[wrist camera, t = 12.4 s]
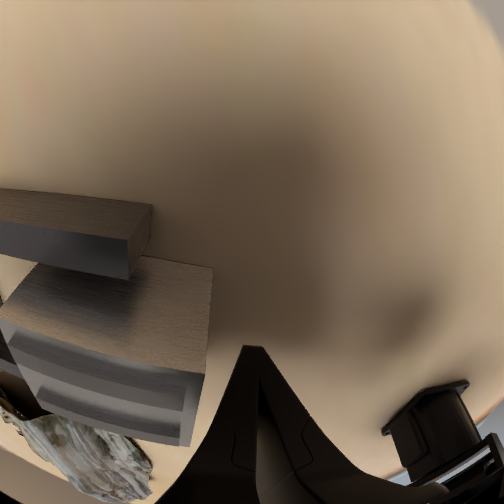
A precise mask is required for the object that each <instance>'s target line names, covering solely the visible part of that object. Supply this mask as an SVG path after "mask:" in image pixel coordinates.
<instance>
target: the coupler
mask: <svg viewBox="0 0 504 504" xmlns="http://www.w3.org/2000/svg"><path fill="white" fill-rule="evenodd" d="M151 212H152V205H151V204H143V203H135V202H127V201H119V200H110V199H102V198H93V197H84V196H74V195H65V194H55V193H44V192H33V191H21V190H9V189H0V254H4V255H8V256H12V257H16V258H21V259H25V260H29V261H34V262H38V263H43V264H47V265H52V266H57V267H62V268H66V269H71V270H76V271H81V272H86V273H92V274H97V275H102V276H108V277H113V278H119V279H124V280H129V278H130V276H131V274H132V272H133V270H134V268H135V266H136V264H137V262H138V260H139V258H140V256H141V254H142V252H143V250H144V249H145V247H146V245H147V243H148V241H149V239H150V231H151ZM2 305H3V303H2V300H1V298H0V308H1V307H2ZM0 369H2V370H4V371H6V372H8V373H10V374H12V375H15V376H17V377H19V378H21V379H24V377H23V375H22V373H21V372H20V370H19V368H18V366H17V364H16V362H15V360H14V358H13V356H12V354H11V352H10V350H9V348H8V346H7V343H6V341H5V339H4V336H3V334H2V332H1V329H0ZM24 380H25V379H24Z"/></svg>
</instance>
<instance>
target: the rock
mask: <svg viewBox="0 0 504 504" xmlns="http://www.w3.org/2000/svg"><path fill="white" fill-rule="evenodd" d="M0 414H1V416H2V418H3V420H4V422H5V423H11V422H13V425H15V426H17V427H18V428H19V430H21V431H17V430H16V431H17V432H18V433H19V435H22V436H24V437H25V439H26V440H27V442H28V445H29V446H30V447H31V449H32V450H33V451H34V453H36V454H37V455H38V456H40V457H41V458H42V459H44V460H45V461H46V462H51V463H52V464H53V465H54V466H56V467H57V468H59V470H60V471H61V472H62V473H63V474H64V475H65V476H66V477H67V478H68V480H69V481H70V482H71V483H72V484H73V485H74V486H75V487H76V489H77V490H78V491H80V492H82V493H85V494H88V495H90V496H93V497H95V498H97V499H99V500H101V501H103V502H109V503H128V502H132V501H133V500H135V499H140V500H144V499H146V498H147V497H148V496H149V495H150V494H152V493H153V492H152V490H151V489H150V487H149V485H148V481H149V473H151V472H152V470H150V469H153V468H152V467H151V465H150V464H149V462H148V461H147V459H146V458H145V457H144V455H143V454H142V453H141V452H140V451H139V450H138V449H137V448H136V447H135V446H134V445H133V444H132V443H131V442H130V441H128V440H127V439H126V438H125V437H124V436H123V435H119V434H115V433H112V432H108V431H105V430H101V429H98V428H94V427H91V426H88V425H85V424H82V423H79V422H76V421H73V420H70V419H67V418H65V417H62V416H59V415H57V414H50V415H45V416H41V417H38V418H35V419H32V420H29V419H28V418H27V417H24V416H21V412H20V413H17V411H16V410H15V408H14V407H13V406H12V404H11V403H10V401H9V400H8V399H7V396H6V394H5V392H3V391H2V389H1V388H0ZM149 468H150V469H149Z"/></svg>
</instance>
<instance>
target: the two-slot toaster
mask: <svg viewBox="0 0 504 504" xmlns="http://www.w3.org/2000/svg"><path fill="white" fill-rule="evenodd" d="M212 279H213V269H211V268H206V267H200V266H195V265H189V264H184V263H178V262H173V261H168V260H162V259H157V258H152V257H147V256H142V255H141V256H140V258H139V260H138V262H137V264H136V266H135V268H134V270H133V272H132V274H131V276H130V278H129V280H124V279H119V278H113V277H108V276H102V275H97V274H92V273H86V272H81V271H76V270H71V269H66V268H62V267H57V266H52V265H47V264H43V263H38V264H37V265H36V266H35V267H34V268H33V269H32V270H31V272H30V273H29V274H28V275H27V276H26V277H25V278H24V280H23V281H22V282H21V283H20V284H19V286H18V287H17V288H16V289H15V290H14V292H13V293H12V294H11V295H10V297H9V298H8V299H7V300H6V302H5V303H4V304H3V305H2V307H1V308H0V329H1V332H2V334H3V336H4V339H5V341H6V343H7V346H8V348H9V350H10V352H11V354H12V356H13V358H14V360H15V362H16V364H17V366H18V368H19V370H20V372H21V373H22V375H23V377H24V379H25V381H26V382H27V384H28V386H29V388H30V389H31V391H32V393H33V394H34V396H35V398H36V400H37V401H38V403H39V404H40V406H41V408H42V409H44V410H47V411H49V412H52V413H54V414H57V415H59V416H62V417H65V418H67V419H70V420H73V421H76V422H79V423H82V424H85V425H88V426H91V427H94V428H98V429H101V430H105V431H108V432H112V433H115V434H119V435H123V436H127V437H132V438H136V439H140V440H145V441H150V442H155V443H161V444H166V445H173V446H184V447H190V443H191V438H192V433H193V428H194V423H195V419H196V414H197V409H198V405H199V400H200V396H201V391H202V386H203V382H204V377H205V370H206V355H207V340H208V327H209V314H210V302H211V290H212Z"/></svg>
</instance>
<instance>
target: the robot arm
mask: <svg viewBox="0 0 504 504" xmlns="http://www.w3.org/2000/svg"><path fill="white" fill-rule="evenodd" d="M469 385H470V383H469V382H468V380H467V381H463V382H459V383H455V384H451V385H446V386H442V387H437V388H433V389H428V390H424V391H422V392H421V393H420V394H418V395H417V397H416V398H415V399H414V400H413V401H412V402H411V403H410V404H409V405H408V406H407V407H406V408H405V409H404V410H403V411H402V412H401V413H400V414H399V415H398V416H397V417H396V418H395V419H394V420H393V421H392V422H391V423H390V424H389V425H387V426H386V427H385V428H384V429H383V430H382V431H381V433H382V436H386V435H392V438H393V441H394V443H395V446H396V449H397V452H398V455H399V458H400V461H401V464H402V466H403V467H404V468H407V471H408V474H409V477H410V480H411V482H413V483H411V484H409V485H407V486H403V485H400V484H396V483H393V482H390V481H387V480H384V479H381V478H378V477H375V476H372V475H370V474H367V473H365V472H363V471H361V470H360V469H358V468H357V467H356V466H355V465H354V464H352V463H351V462H350V461H349V460H348V459H347V458H346V456H345V455H344V454H343V453H342V452H341V451H340V450H339V449H338V448H337V447H336V446H335V445H334V444H333V443H332V442H331V441H330V440H329V439H328V437H327V436H326V435H325V434H324V433H323V432H322V430H321V429H320V428H319V426H318V425H317V424H316V422H315V421H314V420H313V418H312V417H311V416H310V414H309V413H308V411H307V410H306V409H305V407H304V406H303V404H302V403H301V402H300V400H299V399H298V397H297V396H296V394H295V393H294V392H293V390H292V389H291V387H290V386H289V384H288V383H287V381H286V380H285V379H284V377H283V376H282V374H281V373H280V371H279V370H278V368H277V367H276V365H275V364H274V362H273V361H272V359H271V358H270V356H269V355H268V353H267V352H266V350H265V349H264V348H263V347H262V346H251V345H243V347H242V349H241V352H240V354H239V357H238V359H237V362H236V364H235V367H234V369H233V372H232V375H231V377H230V380H229V382H228V385H227V387H226V390H225V392H224V395H223V397H222V400H221V402H220V404H219V407H218V409H217V412H216V414H215V416H214V419H213V421H212V424H211V426H210V428H209V430H208V432H207V434H206V436H205V438H204V439H203V441H202V443H201V444H200V446H199V447H198V449H197V451H196V452H195V454H194V455H193V457H192V458H191V460H190V461H189V463H188V464H187V466H186V467H185V469H184V470H183V472H182V473H181V474H180V476H179V477H178V478H177V480H176V481H175V482H174V483H173V484H172V486H171V487H170V488H169V489H168V490H167V491H166V492H165V493H164V494H163V495H162V496H161V497H160V498H159V499H158V500H157V501H156V502H155V503H154V504H504V448H503V446H502V444H501V442H500V440H499V438H498V436H497V434H496V433H490V434H488V435H487V436H486V437H485V439H483V440H482V439H481V437H480V434H479V432H478V430H477V428H476V426H475V424H474V422H473V420H472V418H471V416H470V414H469V412H468V410H467V408H466V406H465V404H464V403H463V401H462V399H461V397H460V395H461V394H462V393H463V392H464V391H465V390H466V389H467V388H468V386H469ZM487 448H490V451H491V452H489V453H488V454H486V455H485V456H484V457H482V458H481V459H479V460H478V461H476V462H475V463H473V464H472V465H470V466H469V467H467V468H466V469H464V470H463V471H461V472H459V473H458V474H456V475H454V476H452V477H451V478H449V479H447V480H446V481H444V482H442V483H440V484H439V483H437V482H435V481H437V480H438V479H440V478H442V477H444V476H445V475H447V474H449V473H451V472H452V471H454V470H456V469H457V468H459V467H461V466H462V465H464V464H465V463H467V462H468V461H470V460H471V459H473V458H474V457H476V456H477V455H479V454H480V453H482V452H483V451H484V450H486V449H487ZM493 461H494V462H493ZM492 462H493V463H492ZM490 463H491V464H490ZM414 481H415V482H414ZM0 504H23V503H21V502H19V501H17V500H16V499H14V498H12V497H10V496H9V495H7V494H5V493H4V492H2V491H0Z"/></svg>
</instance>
